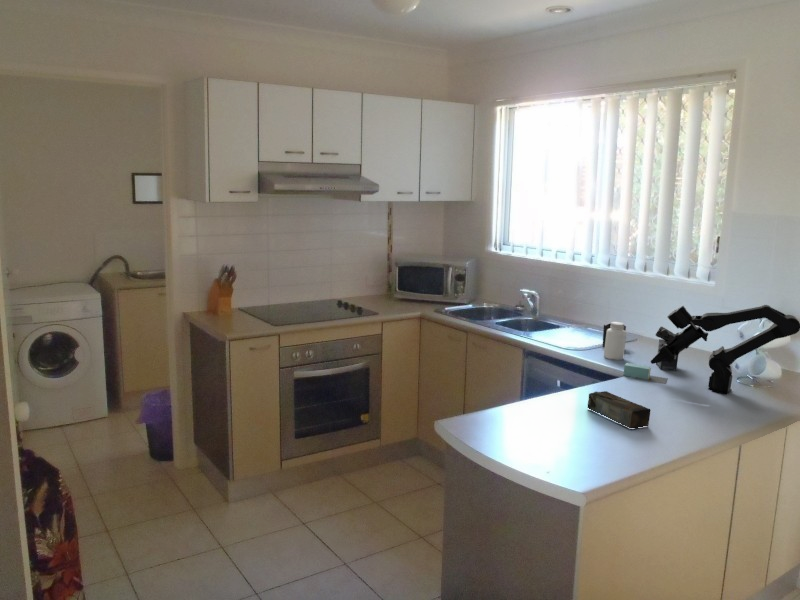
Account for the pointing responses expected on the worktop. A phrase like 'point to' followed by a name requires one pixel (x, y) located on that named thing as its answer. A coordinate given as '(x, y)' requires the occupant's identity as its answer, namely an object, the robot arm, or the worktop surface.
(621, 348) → the pill bottle
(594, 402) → the dark wooden bar
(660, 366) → the small box
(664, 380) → the mat
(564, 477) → the worktop surface
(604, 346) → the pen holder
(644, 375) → the block
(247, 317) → the worktop surface
